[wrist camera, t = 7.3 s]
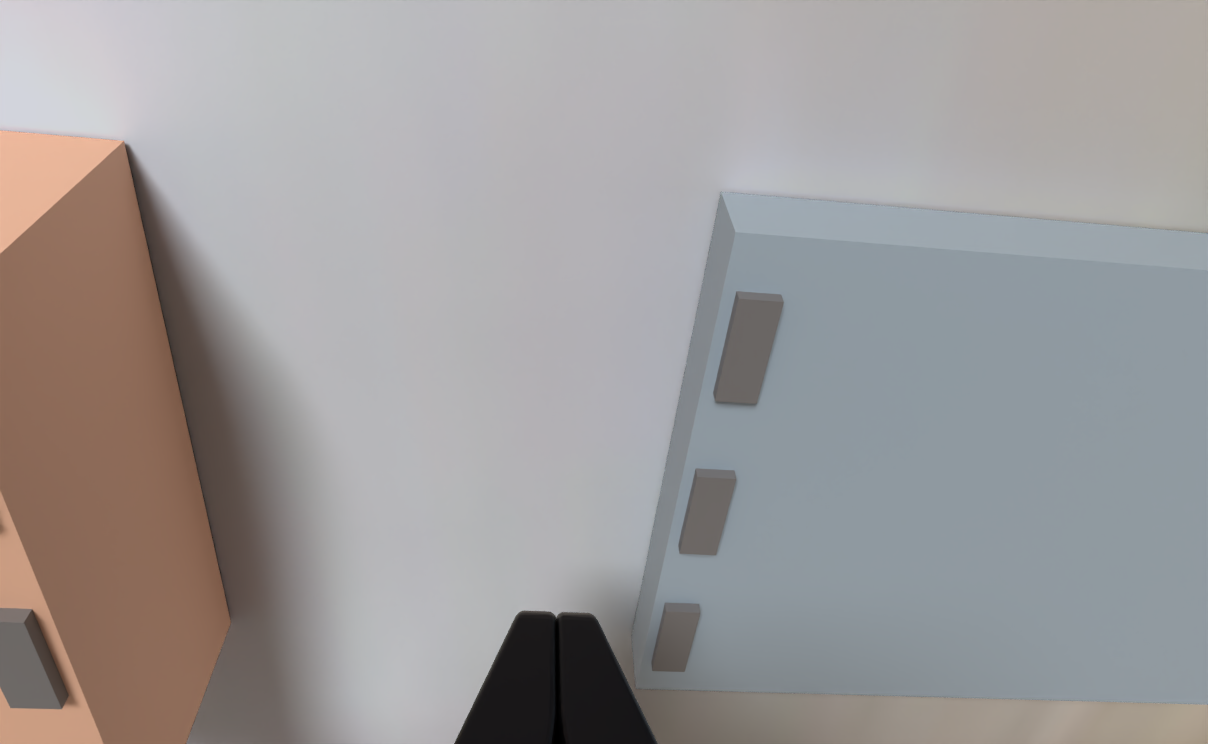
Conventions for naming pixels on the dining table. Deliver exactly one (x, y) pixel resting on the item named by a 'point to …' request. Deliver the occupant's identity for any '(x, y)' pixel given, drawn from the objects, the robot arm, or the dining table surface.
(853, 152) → the dining table surface
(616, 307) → the dining table surface
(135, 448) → the stub
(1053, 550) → the blue-grey flat panel
